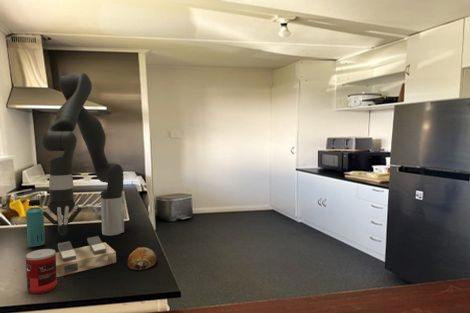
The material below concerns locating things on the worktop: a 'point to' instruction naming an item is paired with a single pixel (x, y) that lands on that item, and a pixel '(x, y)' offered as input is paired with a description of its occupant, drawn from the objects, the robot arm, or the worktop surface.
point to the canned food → (41, 271)
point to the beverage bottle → (35, 224)
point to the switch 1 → (66, 251)
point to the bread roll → (141, 259)
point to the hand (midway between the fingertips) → (62, 234)
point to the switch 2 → (96, 245)
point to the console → (84, 260)
